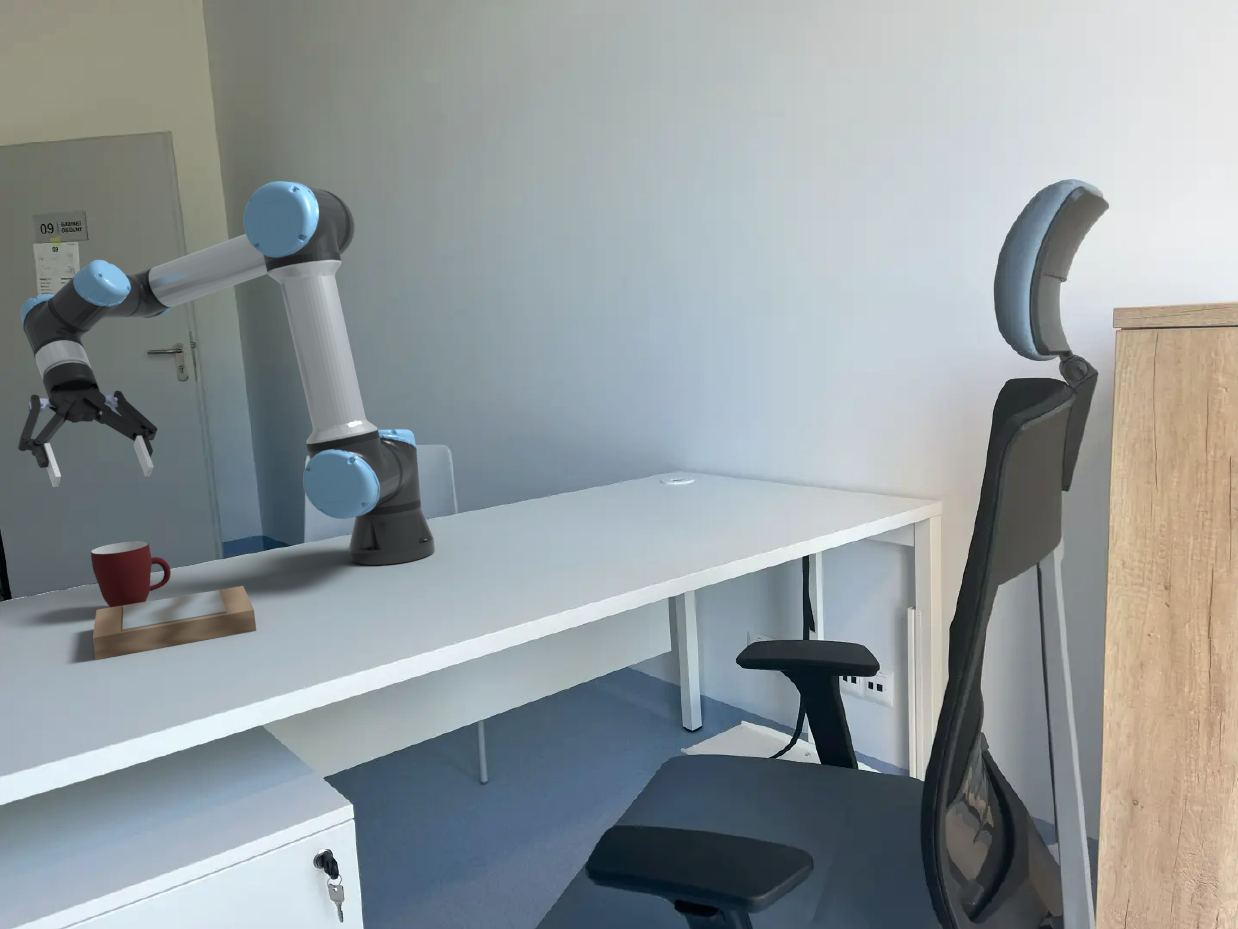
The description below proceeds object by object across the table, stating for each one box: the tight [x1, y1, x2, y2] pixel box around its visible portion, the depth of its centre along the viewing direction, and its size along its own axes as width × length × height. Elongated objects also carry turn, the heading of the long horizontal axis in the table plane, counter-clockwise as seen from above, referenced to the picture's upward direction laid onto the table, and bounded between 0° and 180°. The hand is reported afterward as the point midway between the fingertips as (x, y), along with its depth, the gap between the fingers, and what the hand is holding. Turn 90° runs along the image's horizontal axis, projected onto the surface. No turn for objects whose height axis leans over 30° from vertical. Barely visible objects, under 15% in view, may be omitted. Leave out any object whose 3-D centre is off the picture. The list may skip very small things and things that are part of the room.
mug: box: [90, 540, 172, 608], centre depth 150 cm, size 10×8×10 cm
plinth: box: [92, 585, 257, 661], centre depth 138 cm, size 20×15×3 cm
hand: (104, 477), depth 153 cm, fingers open, 13 cm apart
